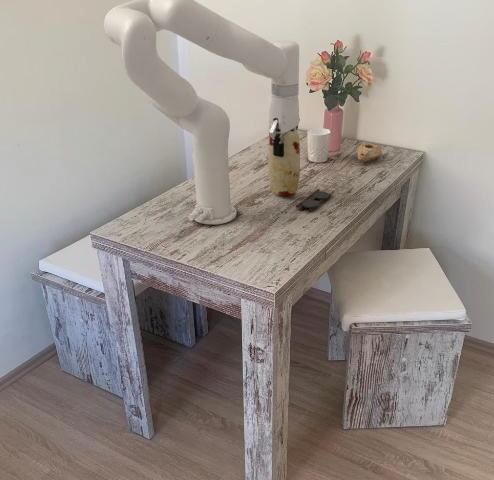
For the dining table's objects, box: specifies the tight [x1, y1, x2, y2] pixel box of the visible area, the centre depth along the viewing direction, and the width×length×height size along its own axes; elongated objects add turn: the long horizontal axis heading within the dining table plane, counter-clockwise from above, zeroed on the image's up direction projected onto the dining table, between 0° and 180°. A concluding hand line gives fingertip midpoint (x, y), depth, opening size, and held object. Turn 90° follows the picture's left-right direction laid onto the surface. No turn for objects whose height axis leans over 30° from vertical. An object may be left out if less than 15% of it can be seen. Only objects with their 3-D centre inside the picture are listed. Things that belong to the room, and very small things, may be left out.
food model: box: [268, 130, 301, 197], centre depth 170 cm, size 10×7×20 cm
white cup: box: [306, 127, 331, 164], centre depth 200 cm, size 8×8×10 cm
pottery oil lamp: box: [355, 142, 383, 163], centre depth 199 cm, size 9×12×7 cm
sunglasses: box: [295, 188, 331, 213], centre depth 171 cm, size 14×5×1 cm, turn 149°
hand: (284, 151), depth 169 cm, fingers closed on food model, 6 cm apart
